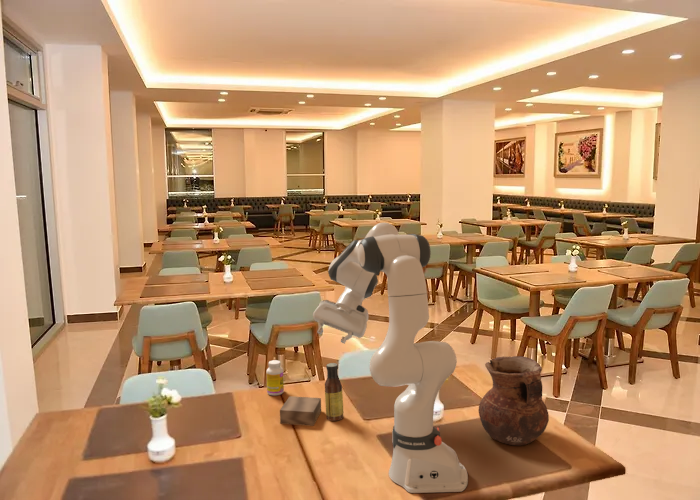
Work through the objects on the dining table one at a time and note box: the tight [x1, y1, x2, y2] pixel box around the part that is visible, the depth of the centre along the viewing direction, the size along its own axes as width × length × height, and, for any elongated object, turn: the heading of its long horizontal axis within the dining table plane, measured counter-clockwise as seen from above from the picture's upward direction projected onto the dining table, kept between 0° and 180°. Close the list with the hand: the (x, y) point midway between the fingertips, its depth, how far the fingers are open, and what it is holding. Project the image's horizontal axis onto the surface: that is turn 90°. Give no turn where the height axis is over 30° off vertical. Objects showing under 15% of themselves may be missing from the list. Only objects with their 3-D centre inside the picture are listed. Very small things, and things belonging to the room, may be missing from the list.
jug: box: [478, 355, 550, 447], centre depth 176 cm, size 22×21×25 cm
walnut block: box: [279, 395, 322, 427], centre depth 194 cm, size 12×12×5 cm
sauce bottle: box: [324, 362, 344, 422], centre depth 192 cm, size 7×6×20 cm
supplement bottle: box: [265, 359, 285, 396], centre depth 216 cm, size 7×7×13 cm
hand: (330, 337), depth 193 cm, fingers open, 8 cm apart
